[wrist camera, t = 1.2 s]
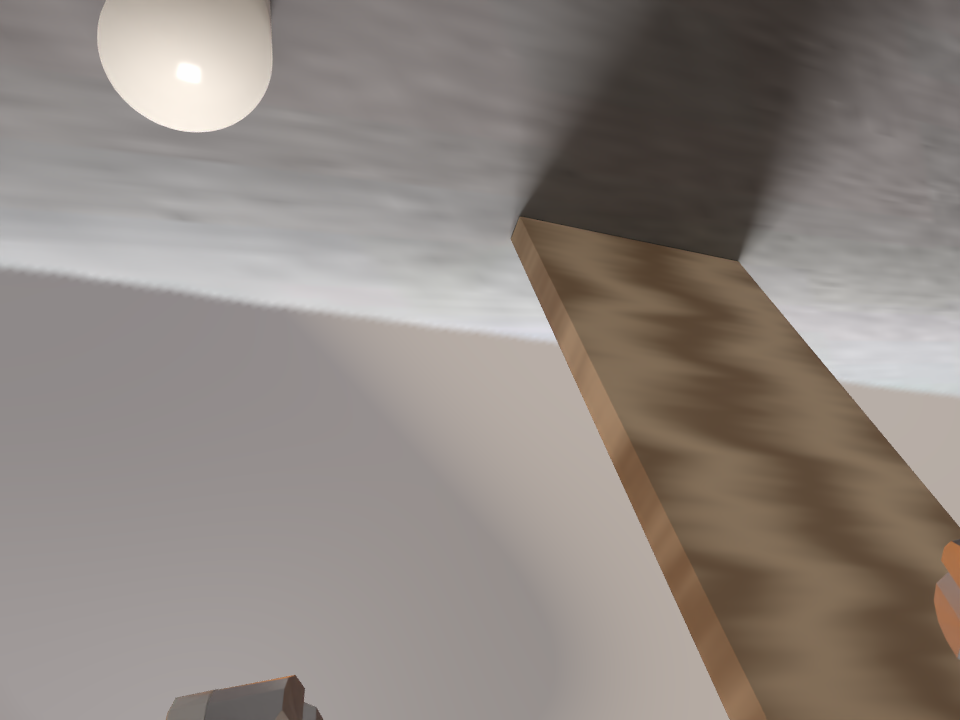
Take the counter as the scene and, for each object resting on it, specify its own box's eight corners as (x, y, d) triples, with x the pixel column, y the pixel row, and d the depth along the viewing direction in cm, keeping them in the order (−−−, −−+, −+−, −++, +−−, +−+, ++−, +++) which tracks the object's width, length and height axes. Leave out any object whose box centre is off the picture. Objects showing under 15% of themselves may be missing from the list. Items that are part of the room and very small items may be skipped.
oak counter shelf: (510, 239, 38) (907, 1110, 15) (606, -6, 32) (1529, 815, 9) (727, 281, 42) (1299, 1010, 19) (847, 72, 36) (1901, 765, 13)
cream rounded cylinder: (87, -23, 28) (58, 27, 24) (205, -109, 27) (196, -73, 23) (190, 98, 31) (179, 160, 27) (299, 24, 30) (305, 76, 26)
